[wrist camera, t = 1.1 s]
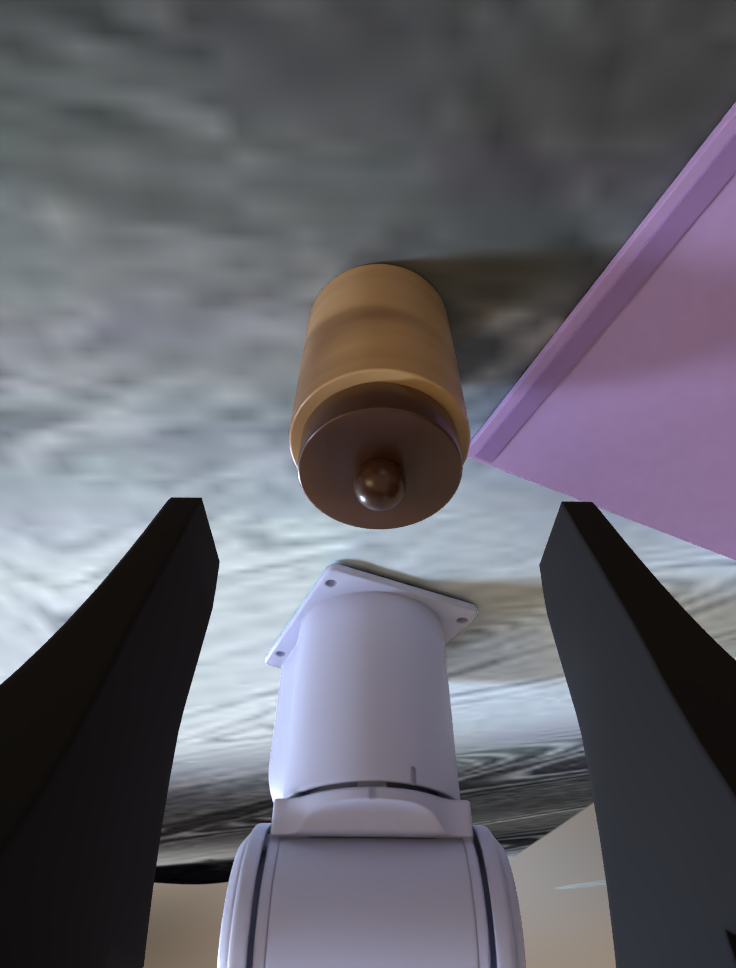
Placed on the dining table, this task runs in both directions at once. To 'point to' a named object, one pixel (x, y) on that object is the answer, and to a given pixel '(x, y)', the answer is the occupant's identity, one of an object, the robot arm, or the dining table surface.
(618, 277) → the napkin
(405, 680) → the robot arm
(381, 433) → the salt mill
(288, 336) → the dining table surface
